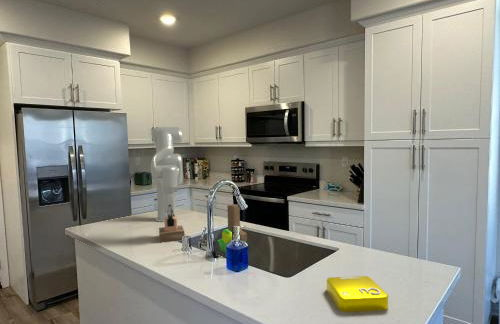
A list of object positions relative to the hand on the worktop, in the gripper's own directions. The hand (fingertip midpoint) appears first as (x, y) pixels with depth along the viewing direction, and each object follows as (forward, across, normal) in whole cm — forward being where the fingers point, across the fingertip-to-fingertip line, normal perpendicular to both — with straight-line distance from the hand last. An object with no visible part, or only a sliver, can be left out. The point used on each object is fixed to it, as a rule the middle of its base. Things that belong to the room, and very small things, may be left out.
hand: (171, 224), depth 166 cm
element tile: (+8, +78, +62) cm, 100 cm away
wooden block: (+8, +13, +33) cm, 36 cm away
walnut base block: (+8, 0, 0) cm, 8 cm away
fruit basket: (+8, +28, +28) cm, 40 cm away
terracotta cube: (+3, 0, 0) cm, 3 cm away
